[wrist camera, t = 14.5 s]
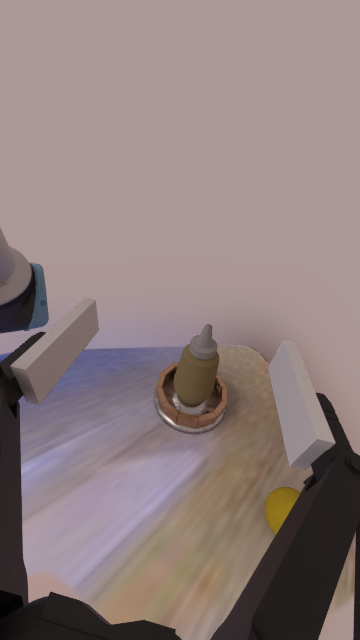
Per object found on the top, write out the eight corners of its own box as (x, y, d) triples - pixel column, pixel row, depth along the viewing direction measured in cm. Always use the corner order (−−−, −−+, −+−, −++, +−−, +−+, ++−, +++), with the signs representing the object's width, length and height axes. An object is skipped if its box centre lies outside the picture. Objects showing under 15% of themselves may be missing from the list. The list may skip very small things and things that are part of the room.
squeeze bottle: (217, 395, 46) (242, 329, 36) (193, 421, 41) (215, 351, 30) (188, 373, 50) (203, 307, 40) (163, 394, 45) (173, 323, 34)
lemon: (291, 504, 33) (317, 484, 29) (300, 555, 29) (333, 542, 24) (255, 493, 34) (275, 473, 29) (258, 543, 29) (282, 527, 25)
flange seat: (144, 423, 41) (145, 411, 38) (163, 364, 53) (164, 353, 51) (224, 442, 40) (230, 432, 38) (225, 378, 52) (229, 368, 50)
